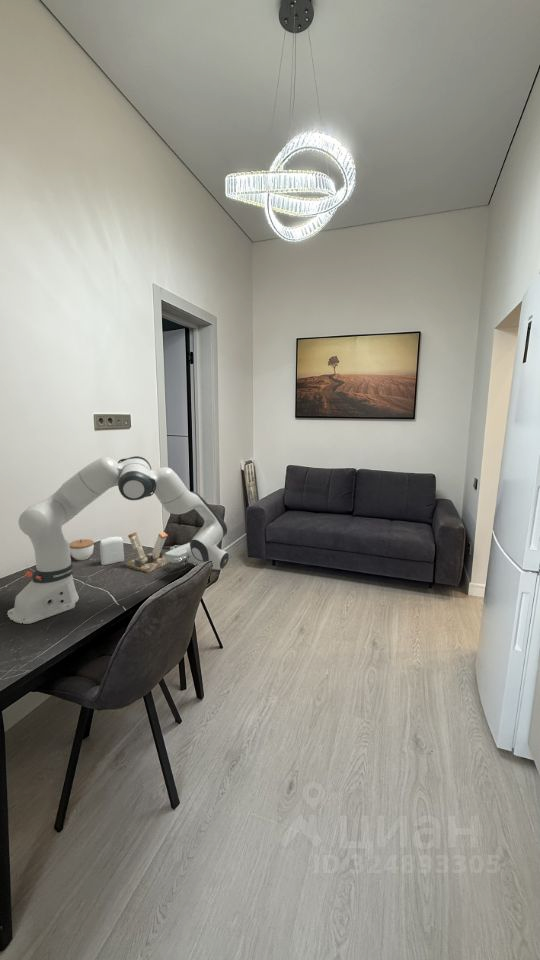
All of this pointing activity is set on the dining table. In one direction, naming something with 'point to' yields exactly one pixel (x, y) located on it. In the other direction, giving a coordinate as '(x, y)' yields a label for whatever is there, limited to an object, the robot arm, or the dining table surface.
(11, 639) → the dining table surface
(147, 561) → the console
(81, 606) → the dining table surface
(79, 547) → the lidded jar
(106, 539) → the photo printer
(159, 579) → the dining table surface
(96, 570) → the dining table surface
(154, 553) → the lever
